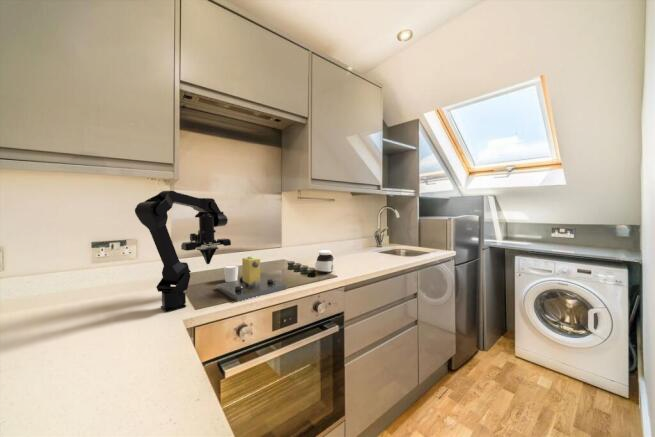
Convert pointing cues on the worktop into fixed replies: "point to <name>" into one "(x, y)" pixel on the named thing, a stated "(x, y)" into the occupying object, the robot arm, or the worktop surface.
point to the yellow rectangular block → (251, 269)
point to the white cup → (231, 273)
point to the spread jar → (325, 262)
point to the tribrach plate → (250, 288)
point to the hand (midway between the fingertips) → (207, 264)
